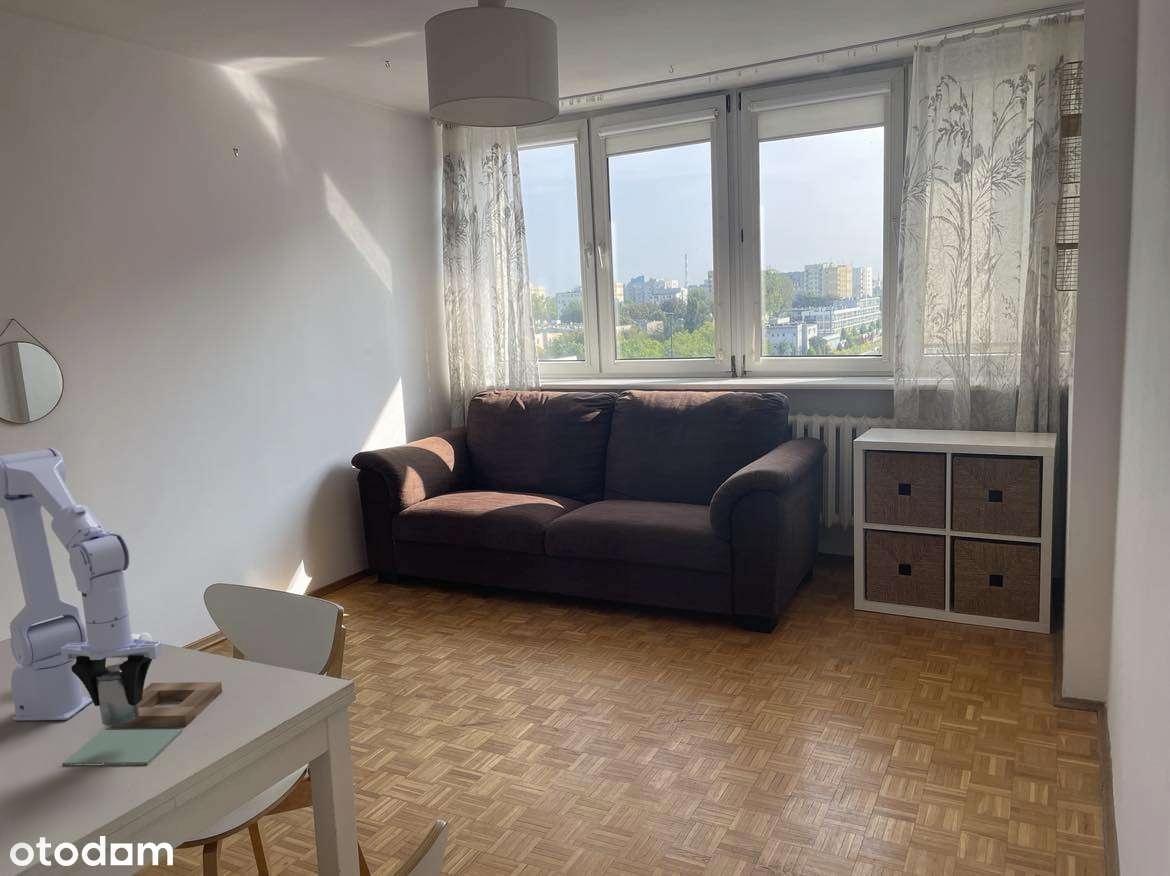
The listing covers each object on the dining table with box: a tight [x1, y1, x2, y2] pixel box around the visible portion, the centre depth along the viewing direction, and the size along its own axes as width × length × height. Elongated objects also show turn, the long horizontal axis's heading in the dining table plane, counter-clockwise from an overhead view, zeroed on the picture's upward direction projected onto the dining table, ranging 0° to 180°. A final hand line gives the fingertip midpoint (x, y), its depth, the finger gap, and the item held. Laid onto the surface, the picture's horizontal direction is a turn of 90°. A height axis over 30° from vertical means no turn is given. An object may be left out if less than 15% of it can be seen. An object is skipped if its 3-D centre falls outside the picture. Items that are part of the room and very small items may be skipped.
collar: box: [111, 681, 223, 728], centre depth 147 cm, size 12×12×2 cm
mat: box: [61, 728, 183, 766], centre depth 135 cm, size 13×10×1 cm
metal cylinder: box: [95, 663, 139, 727], centre depth 133 cm, size 5×5×8 cm
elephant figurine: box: [117, 632, 153, 663], centre depth 168 cm, size 7×8×6 cm
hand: (118, 702), depth 134 cm, fingers closed on metal cylinder, 5 cm apart
